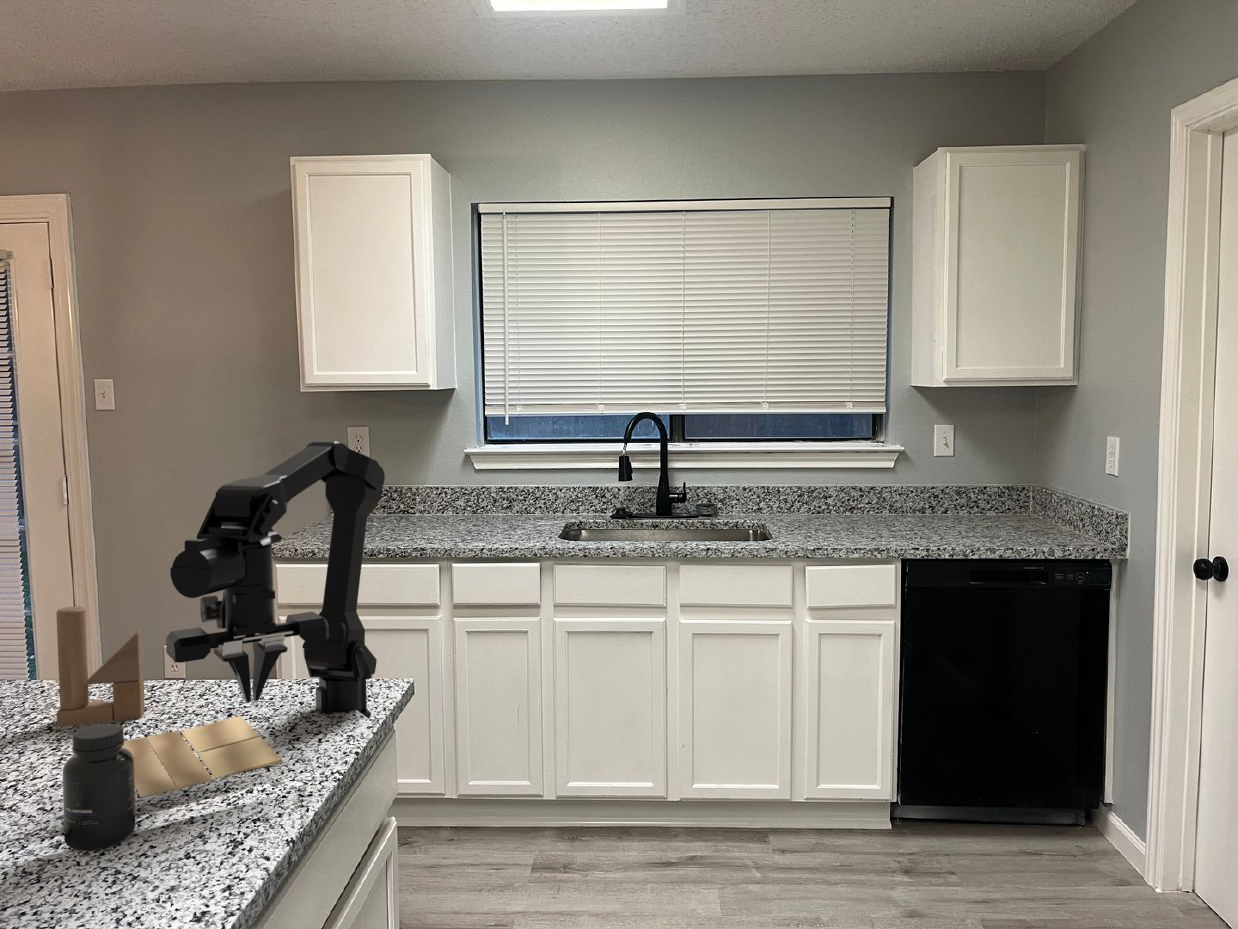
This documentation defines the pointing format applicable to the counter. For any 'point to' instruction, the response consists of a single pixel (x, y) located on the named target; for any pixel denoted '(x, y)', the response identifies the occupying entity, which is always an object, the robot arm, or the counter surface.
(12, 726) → the counter surface
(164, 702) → the counter surface
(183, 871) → the counter surface
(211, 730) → the oak plank
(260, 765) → the oak plank
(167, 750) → the laid floor row
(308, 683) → the counter surface
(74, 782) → the supplement bottle
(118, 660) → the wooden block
